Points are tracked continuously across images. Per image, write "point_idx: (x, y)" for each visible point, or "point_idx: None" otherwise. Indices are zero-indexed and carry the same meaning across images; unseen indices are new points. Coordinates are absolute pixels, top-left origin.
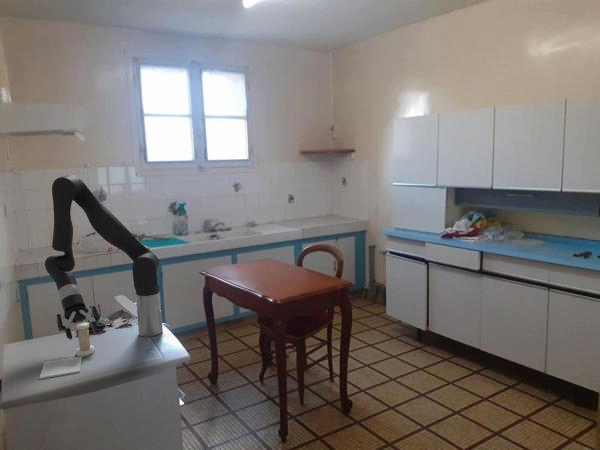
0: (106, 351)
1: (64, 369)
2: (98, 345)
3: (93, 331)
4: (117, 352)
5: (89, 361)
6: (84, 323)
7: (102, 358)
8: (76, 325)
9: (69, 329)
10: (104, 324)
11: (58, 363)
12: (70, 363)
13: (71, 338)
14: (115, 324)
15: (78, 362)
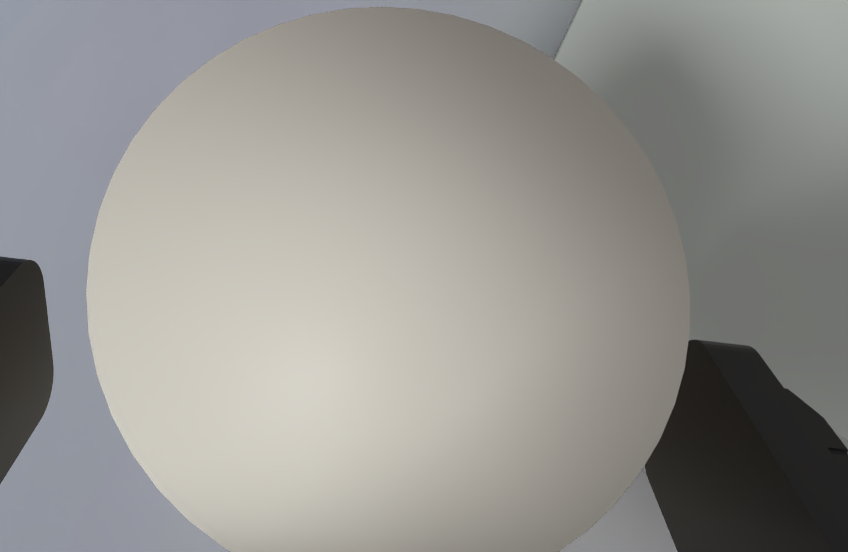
0: (92, 177)
1: (768, 42)
2: (28, 539)
3: (24, 416)
4: (6, 13)
5: None
6: (257, 387)
7: (267, 8)
8: (643, 436)
9: (843, 528)
10: None
11: (788, 272)
12: (664, 146)
13: (679, 391)
14: None
15: None
